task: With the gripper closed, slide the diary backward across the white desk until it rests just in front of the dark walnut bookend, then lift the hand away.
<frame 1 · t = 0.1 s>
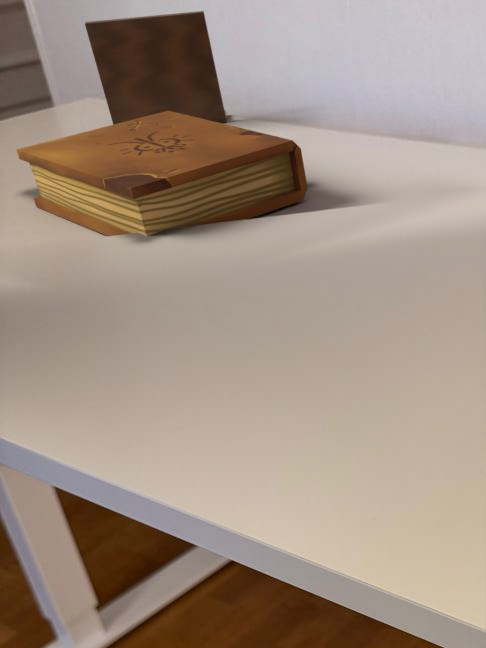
bookend: (172, 124, 122), on the table
diary: (171, 205, 98), on the table
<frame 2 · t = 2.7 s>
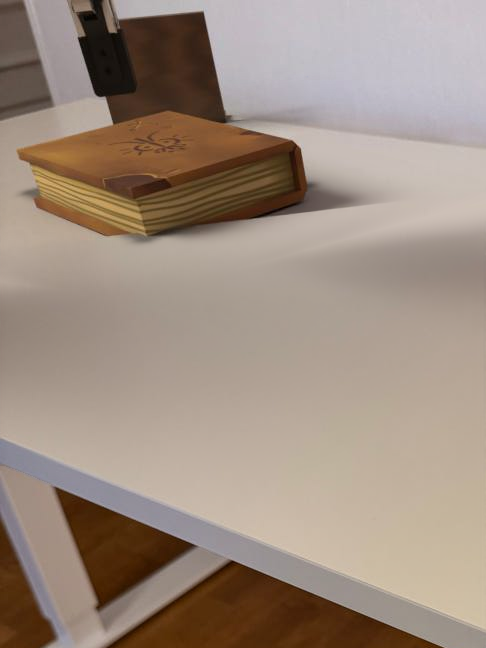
hand: (117, 92, 74), 14 cm above the table, tool pointing down, fingers closed
nothing on the table moved.
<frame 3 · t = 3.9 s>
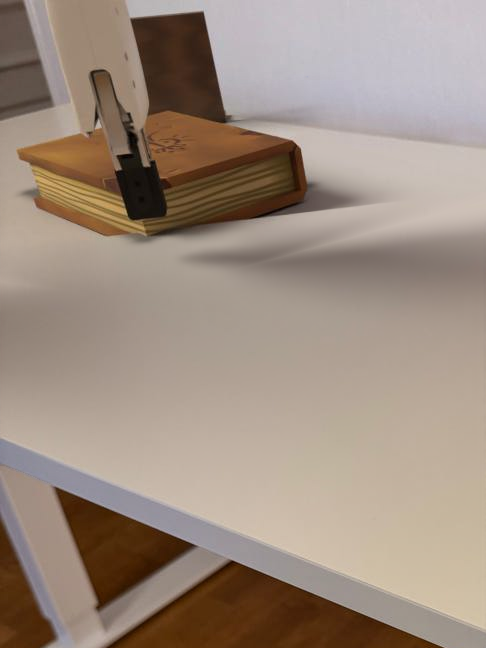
hand: (148, 215, 80), 5 cm above the table, tool pointing down, fingers closed
nothing on the table moved.
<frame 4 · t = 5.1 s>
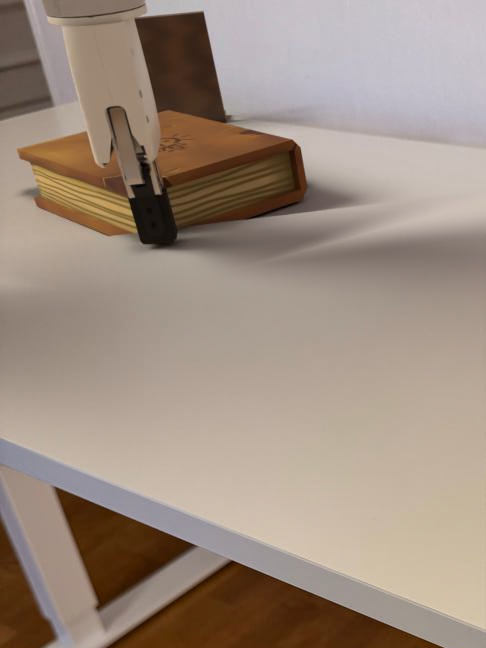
hand: (160, 239, 84), 2 cm above the table, tool pointing down, fingers closed
diary: (171, 204, 98), on the table, touching gripper
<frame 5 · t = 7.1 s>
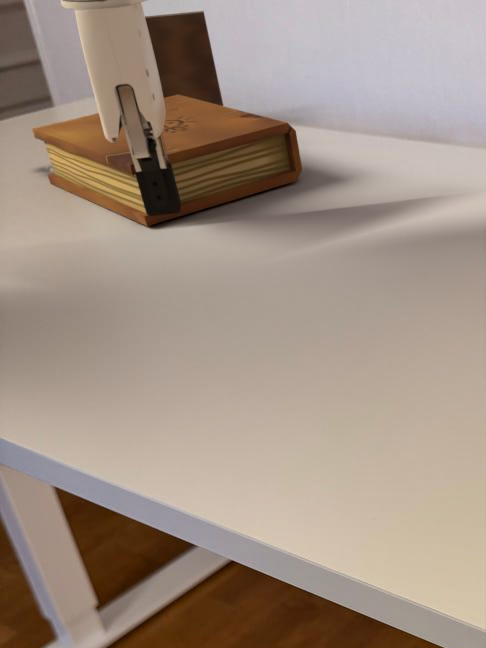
hand: (164, 211, 90), 2 cm above the table, tool pointing down, fingers closed
diary: (175, 184, 103), on the table, touching gripper
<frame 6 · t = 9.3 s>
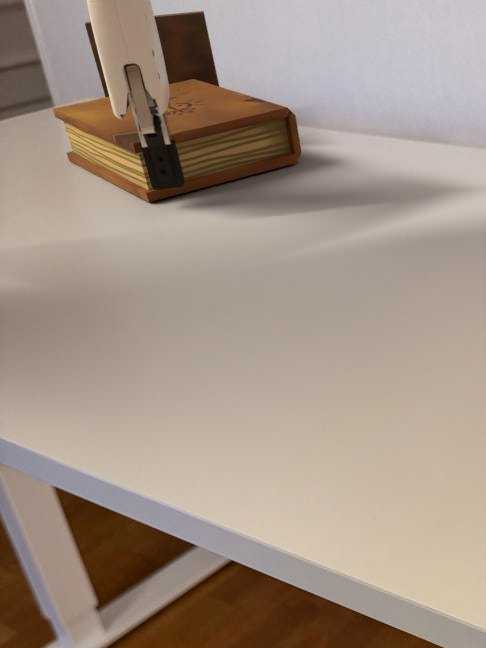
hand: (169, 185, 96), 2 cm above the table, tool pointing down, fingers closed
diary: (183, 163, 109), on the table, touching gripper
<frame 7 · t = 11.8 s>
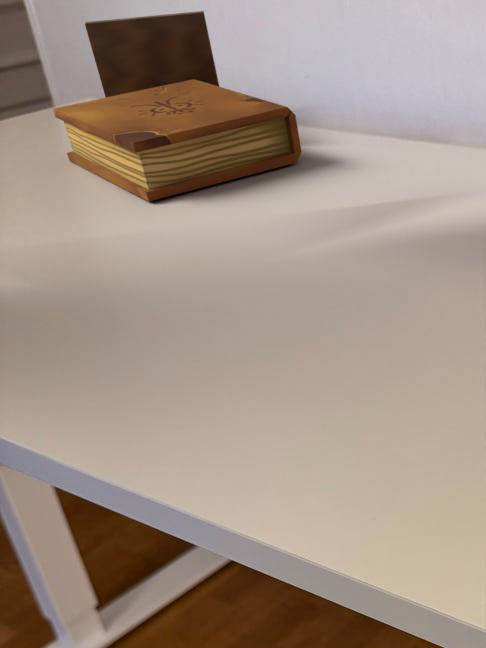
diary: (183, 163, 109), on the table
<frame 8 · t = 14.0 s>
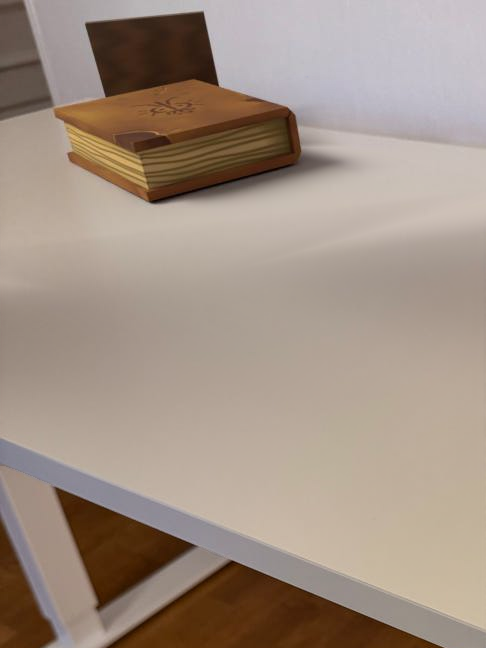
nothing on the table moved.
at the end: diary inside the target area on the table beside the bookend (1.5 cm from its centre), on the table; diary moved 15.3 cm from its start; diary tilted 0° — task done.
